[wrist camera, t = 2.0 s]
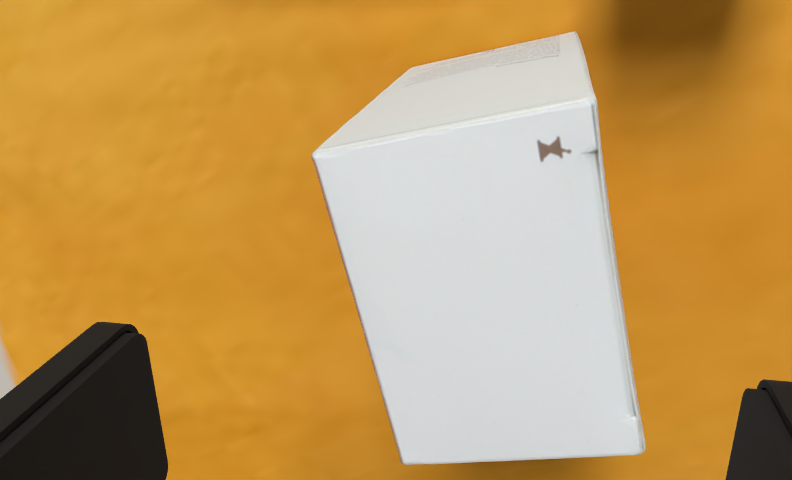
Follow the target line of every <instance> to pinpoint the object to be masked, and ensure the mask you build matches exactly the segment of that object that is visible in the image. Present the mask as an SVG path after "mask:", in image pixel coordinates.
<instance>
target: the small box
mask: <svg viewBox="0 0 792 480" xmlns="http://www.w3.org/2000/svg"><path fill="white" fill-rule="evenodd" d="M312 159H313V162H314V165H315V168H316V171H317V175H318V178H319V182H320V185H321V189H322V192H323V196H324V200H325V203H326V207H327V210H328V213H329V217H330V220H331V223H332V227H333V230H334V233H335V237H336V240H337V243H338V247H339V250H340V254H341V257H342V261H343V264H344V267H345V271H346V274H347V278H348V281H349V284H350V288H351V291H352V294H353V297H354V300H355V304H356V307H357V311H358V315H359V318H360V321H361V325H362V328H363V331H364V335H365V339H366V342H367V345H368V348H369V352H370V355H371V359H372V362H373V366H374V369H375V372H376V376H377V379H378V382H379V385H380V389H381V393H382V396H383V400H384V403H385V407H386V410H387V414H388V417H389V421H390V424H391V428H392V431H393V435H394V438H395V441H396V445H397V448H398V451H399V456H400V460H401V463H403V464H405V465H409V464H446V463H469V462H491V461H514V460H536V459H558V458H580V457H603V456H631V455H639V454H642V453H643V452H644V451H645V437H644V432H643V426H642V421H641V415H640V409H639V403H638V397H637V391H636V385H635V380H634V373H633V367H632V360H631V354H630V347H629V341H628V334H627V327H626V320H625V313H624V306H623V299H622V292H621V285H620V279H619V272H618V265H617V258H616V251H615V244H614V237H613V230H612V223H611V215H610V208H609V201H608V193H607V186H606V178H605V171H604V164H603V156H602V149H601V139H600V129H599V119H598V105H597V100H596V97H595V94H594V91H593V87H592V83H591V79H590V76H589V71H588V66H587V63H586V58H585V55H584V51H583V48H582V45H581V42H580V39H579V36H578V34H577V33H576V32H574V31H573V32H569V33H565V34H561V35H557V36H553V37H548V38H543V39H539V40H534V41H529V42H525V43H520V44H515V45H511V46H506V47H502V48H497V49H493V50H488V51H484V52H479V53H475V54H470V55H466V56H461V57H456V58H452V59H447V60H443V61H438V62H434V63H429V64H425V65H420V66H416V67H412V68H410V69H409V70H407V71H406V72H405V73H404V74H403V75H402V76H401V77H399V78H398V79H397V80H396V81H395V82H393V83H392V84H391V85H390V86H389V87H388V88H386V89H385V90H384V91H383V92H382V93H381V94H379V95H378V96H377V97H376V98H375V99H374V100H372V101H371V102H370V103H369V104H368V105H367V106H366V107H365V108H363V109H362V110H361V111H360V112H359V113H357V114H356V115H355V116H354V117H353V118H351V119H350V120H349V121H348V122H347V123H345V124H344V125H343V126H342V127H341V128H340V129H339V130H338V131H337V132H336V133H334V134H333V135H332V136H331V137H330V138H329V139H327V140H326V141H325V142H324V143H323V144H322V145H321V146H320V147H319V148H318V149H316V150H315V151H314V153H313V154H312Z"/></svg>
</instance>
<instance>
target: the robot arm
mask: <svg viewBox="0 0 792 480" xmlns="http://www.w3.org/2000/svg"><path fill="white" fill-rule="evenodd" d="M167 472H168V460H167V455H166V449H165V443H164V438H163V432H162V426H161V420H160V415H159V409H158V403H157V397H156V392H155V386H154V380H153V375H152V369H151V363H150V357H149V352H148V346H147V341H146V338H145V337H144V336H143V335H142V334H139V333H138V331H137V329H136V328H135V326H133V325H131V324H120V323H109V322H97V323H95V324H93V325H92V326H91V327H90V328H88V329H87V330H86V331H85V332H83V333H82V334H81V335H80V336H78V337H77V338H76V339H75V340H73V341H72V342H71V343H70V344H68V345H67V346H66V347H65V348H63V349H62V350H61V351H60V352H58V353H57V354H56V355H55V356H53V357H52V358H51V359H50V360H48V361H47V362H46V363H45V364H44V365H42V366H41V367H40V368H39V369H37V370H36V371H35V372H34V373H32V374H31V375H30V376H29V377H27V378H26V379H25V380H24V381H22V382H21V383H20V384H19V385H17V386H16V387H15V388H14V389H12V390H11V391H10V392H9V393H7V394H6V395H5V396H4V397H3V398H1V399H0V480H165V479H166V476H167ZM726 480H792V382H786V381H775V380H762V381H760V383H759V385H758V387H757V389H749V388H747V389H746V390H745V391H744V393H743V397H742V401H741V406H740V411H739V416H738V421H737V426H736V431H735V436H734V441H733V446H732V451H731V456H730V461H729V466H728V471H727V476H726Z"/></svg>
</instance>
